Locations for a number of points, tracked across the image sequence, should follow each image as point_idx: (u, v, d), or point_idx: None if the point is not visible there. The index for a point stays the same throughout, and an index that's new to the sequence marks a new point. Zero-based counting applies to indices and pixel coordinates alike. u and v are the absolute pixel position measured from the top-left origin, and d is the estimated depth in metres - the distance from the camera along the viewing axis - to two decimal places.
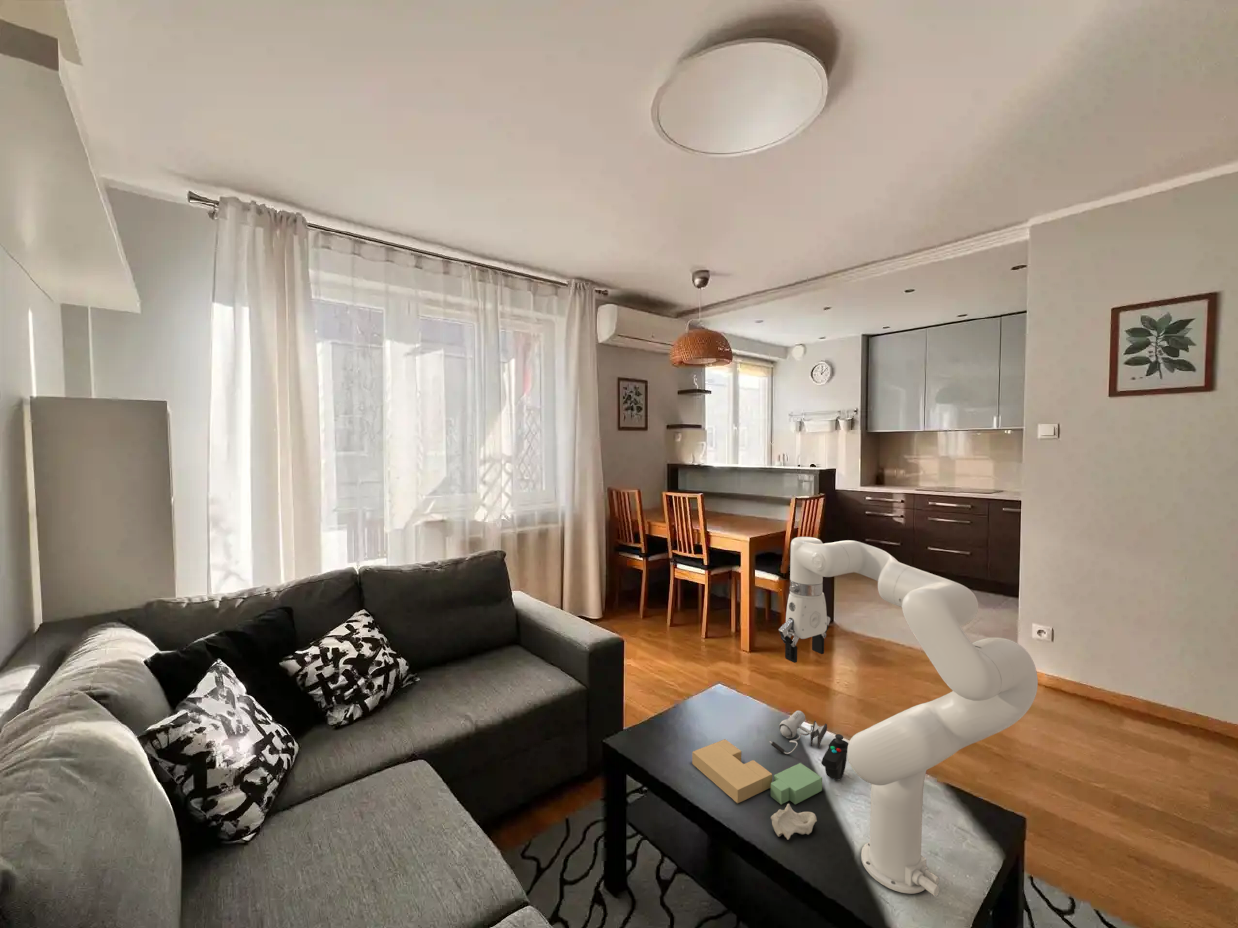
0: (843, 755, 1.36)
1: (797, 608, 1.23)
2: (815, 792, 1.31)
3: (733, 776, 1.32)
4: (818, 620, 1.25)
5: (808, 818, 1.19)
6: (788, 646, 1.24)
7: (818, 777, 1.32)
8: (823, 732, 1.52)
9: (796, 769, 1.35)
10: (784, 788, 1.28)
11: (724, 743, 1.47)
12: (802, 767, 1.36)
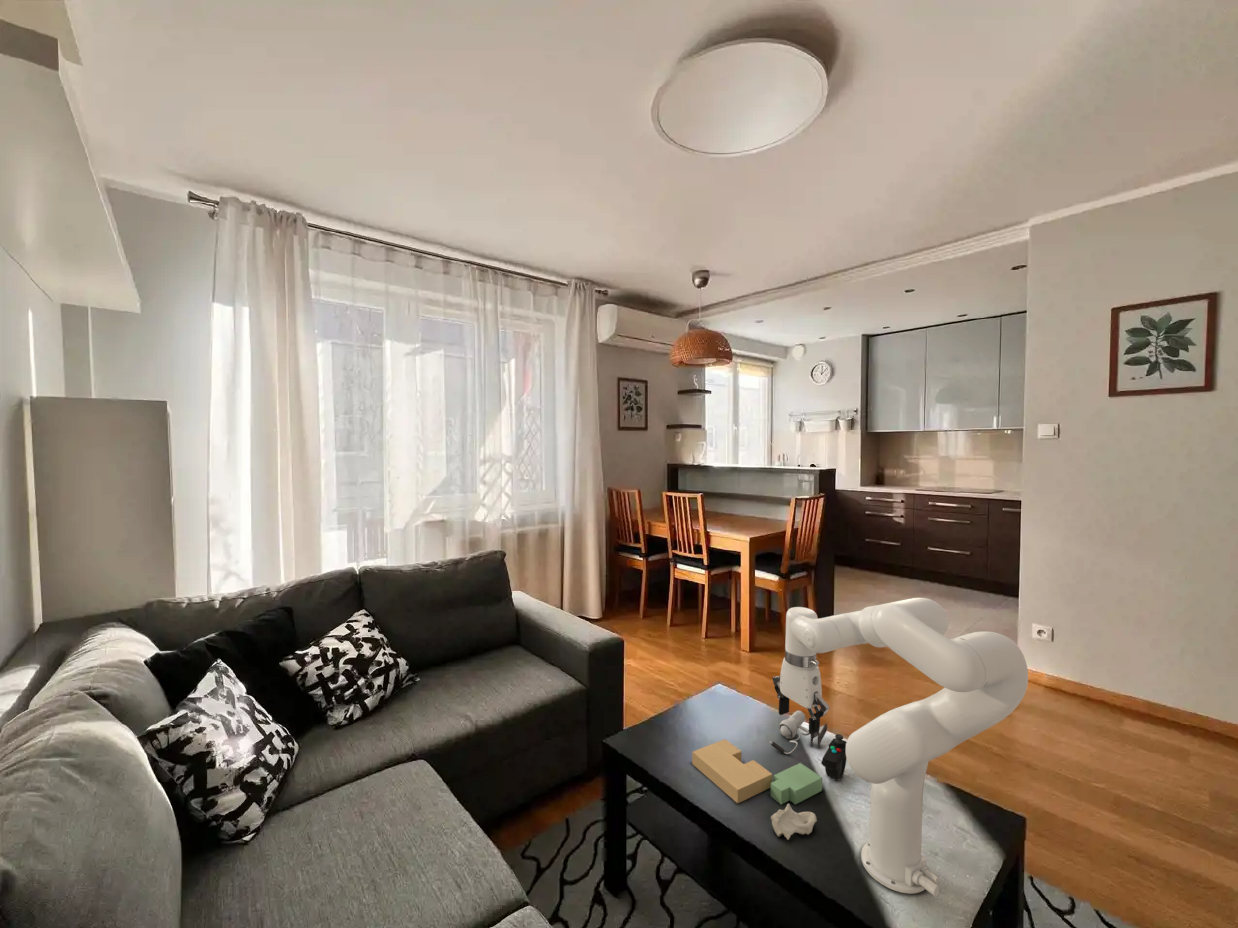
0: (843, 755, 1.36)
1: (819, 678, 1.27)
2: (815, 792, 1.31)
3: (733, 776, 1.32)
4: None
5: (808, 818, 1.19)
6: (817, 719, 1.26)
7: (818, 777, 1.32)
8: (823, 732, 1.52)
9: (796, 769, 1.35)
10: (784, 788, 1.28)
11: (724, 743, 1.47)
12: (802, 767, 1.36)
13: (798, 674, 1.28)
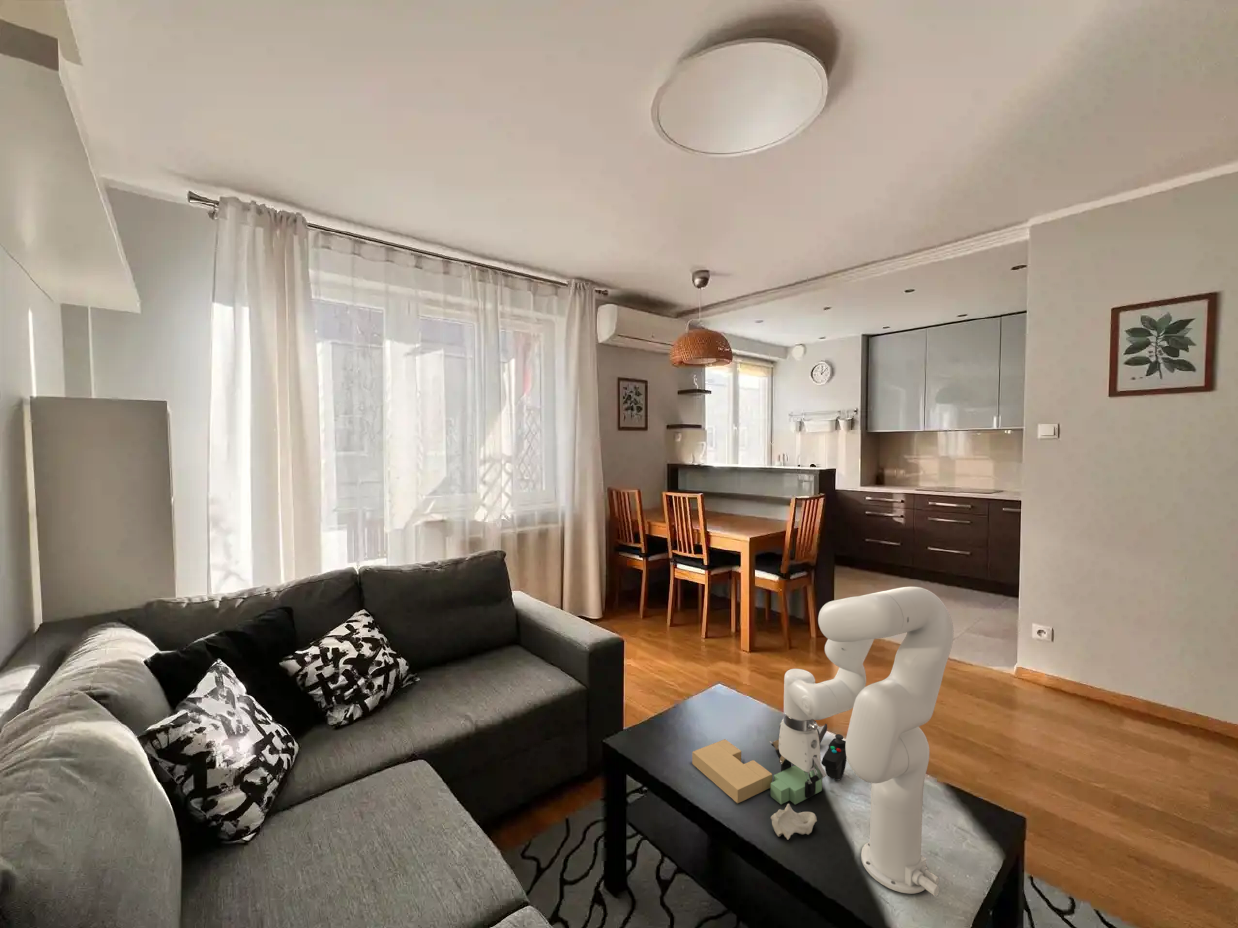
0: (843, 755, 1.36)
1: (818, 741, 1.29)
2: (815, 792, 1.31)
3: (733, 776, 1.32)
4: None
5: (808, 818, 1.19)
6: (813, 783, 1.28)
7: None
8: (823, 732, 1.52)
9: (796, 769, 1.35)
10: (784, 788, 1.28)
11: (724, 743, 1.47)
12: None
13: (796, 738, 1.29)
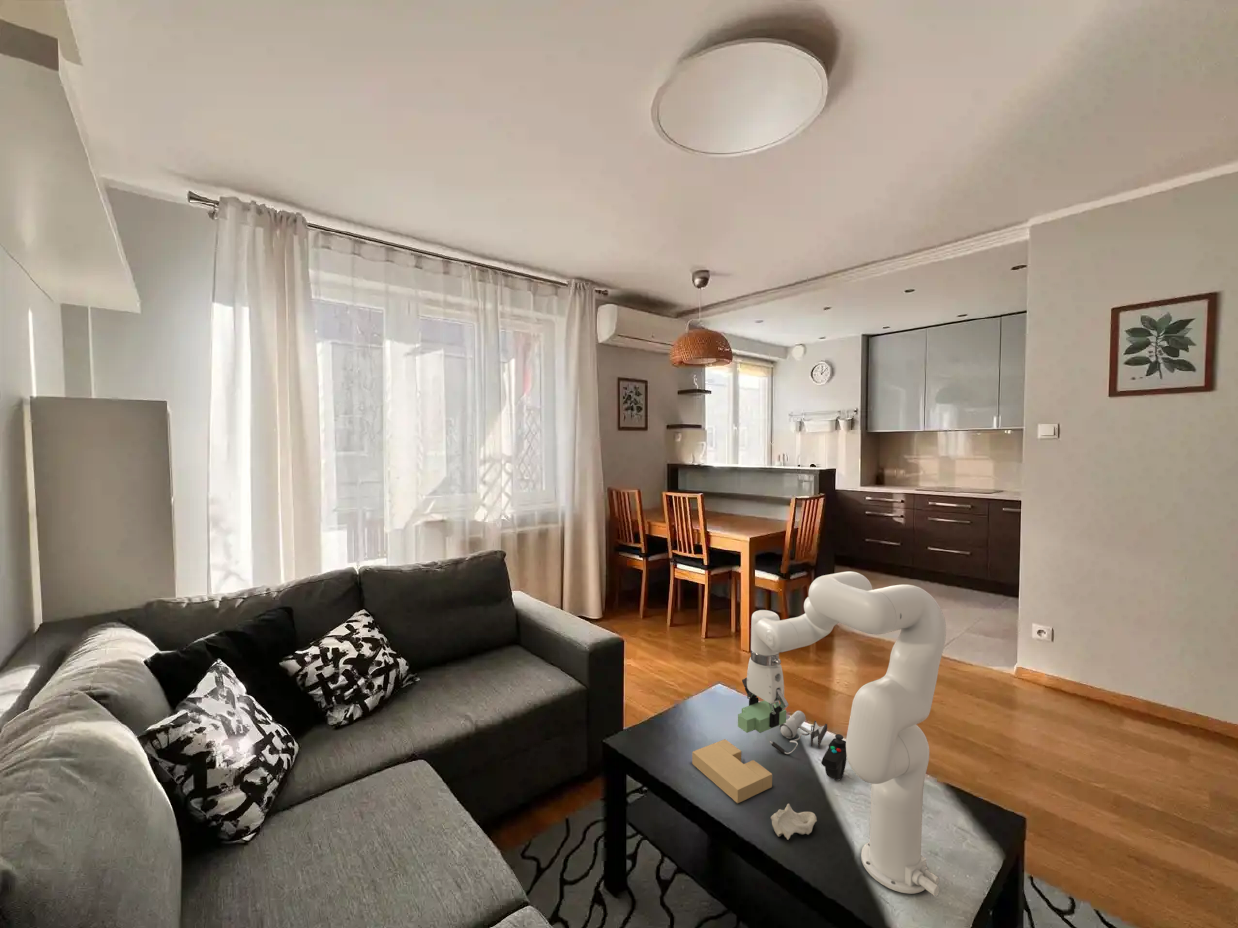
0: (843, 755, 1.36)
1: (781, 675, 1.39)
2: (779, 723, 1.41)
3: (733, 776, 1.32)
4: None
5: (808, 818, 1.19)
6: (777, 714, 1.38)
7: None
8: (823, 732, 1.52)
9: (763, 704, 1.45)
10: (750, 718, 1.38)
11: (724, 743, 1.47)
12: None
13: (762, 672, 1.39)
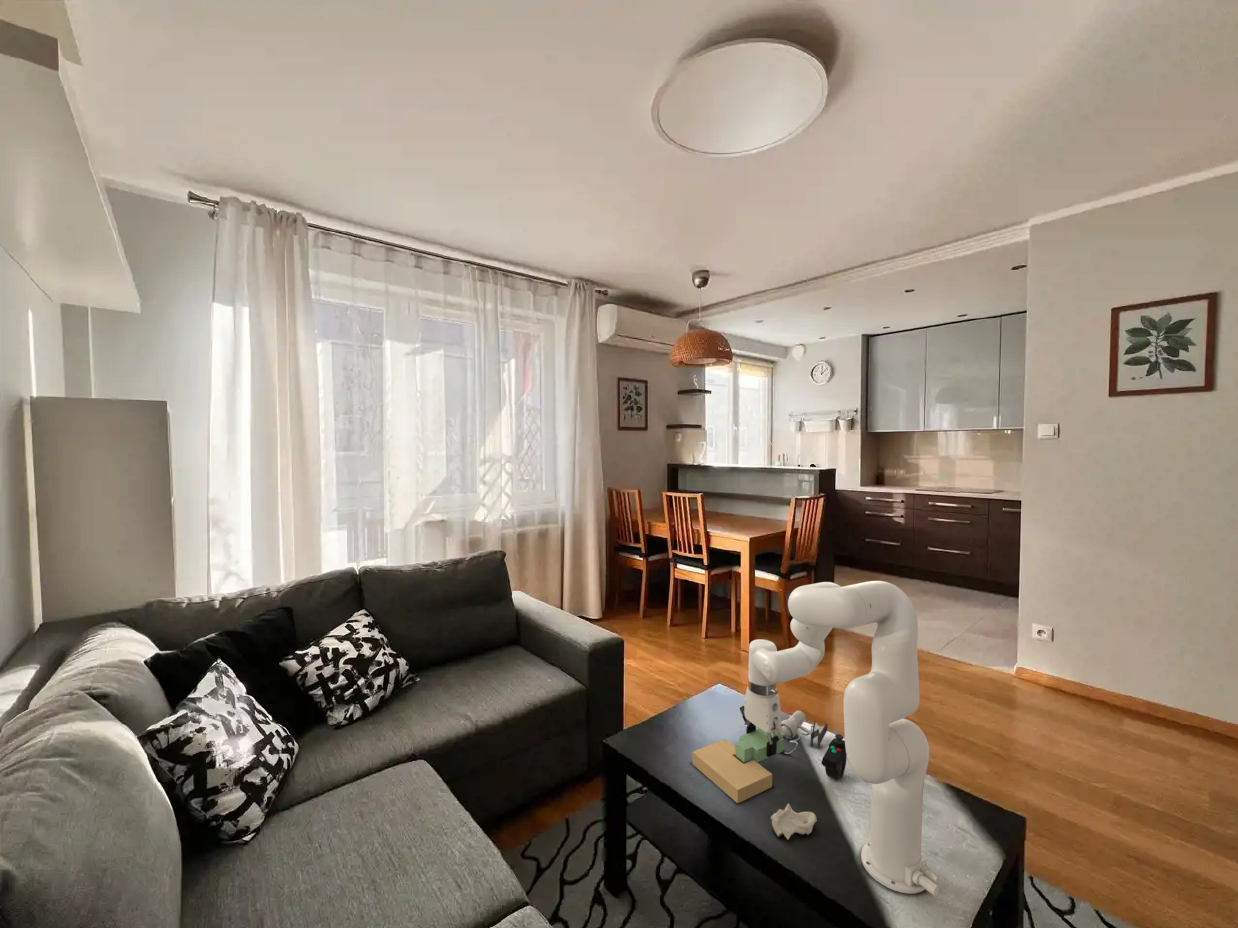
0: (843, 755, 1.36)
1: (778, 705, 1.40)
2: (776, 752, 1.42)
3: (733, 776, 1.32)
4: None
5: (808, 818, 1.19)
6: (774, 743, 1.39)
7: None
8: (823, 732, 1.52)
9: (760, 732, 1.46)
10: (747, 747, 1.39)
11: (724, 743, 1.47)
12: None
13: (759, 702, 1.40)
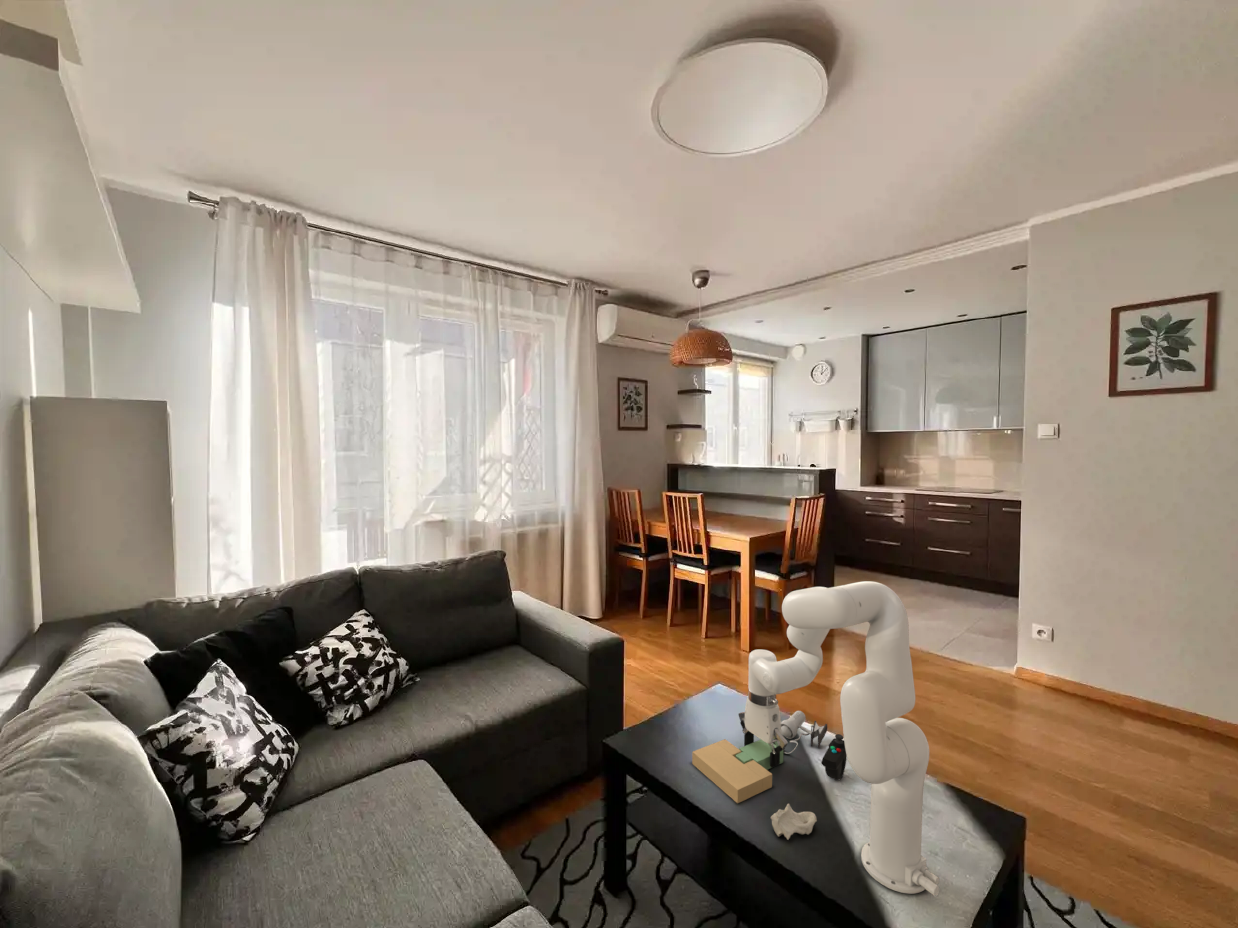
0: (843, 755, 1.36)
1: (779, 715, 1.40)
2: None
3: (733, 776, 1.32)
4: None
5: (808, 818, 1.19)
6: (777, 754, 1.39)
7: None
8: (823, 732, 1.52)
9: (760, 743, 1.47)
10: (747, 759, 1.39)
11: (724, 743, 1.47)
12: None
13: (759, 712, 1.41)
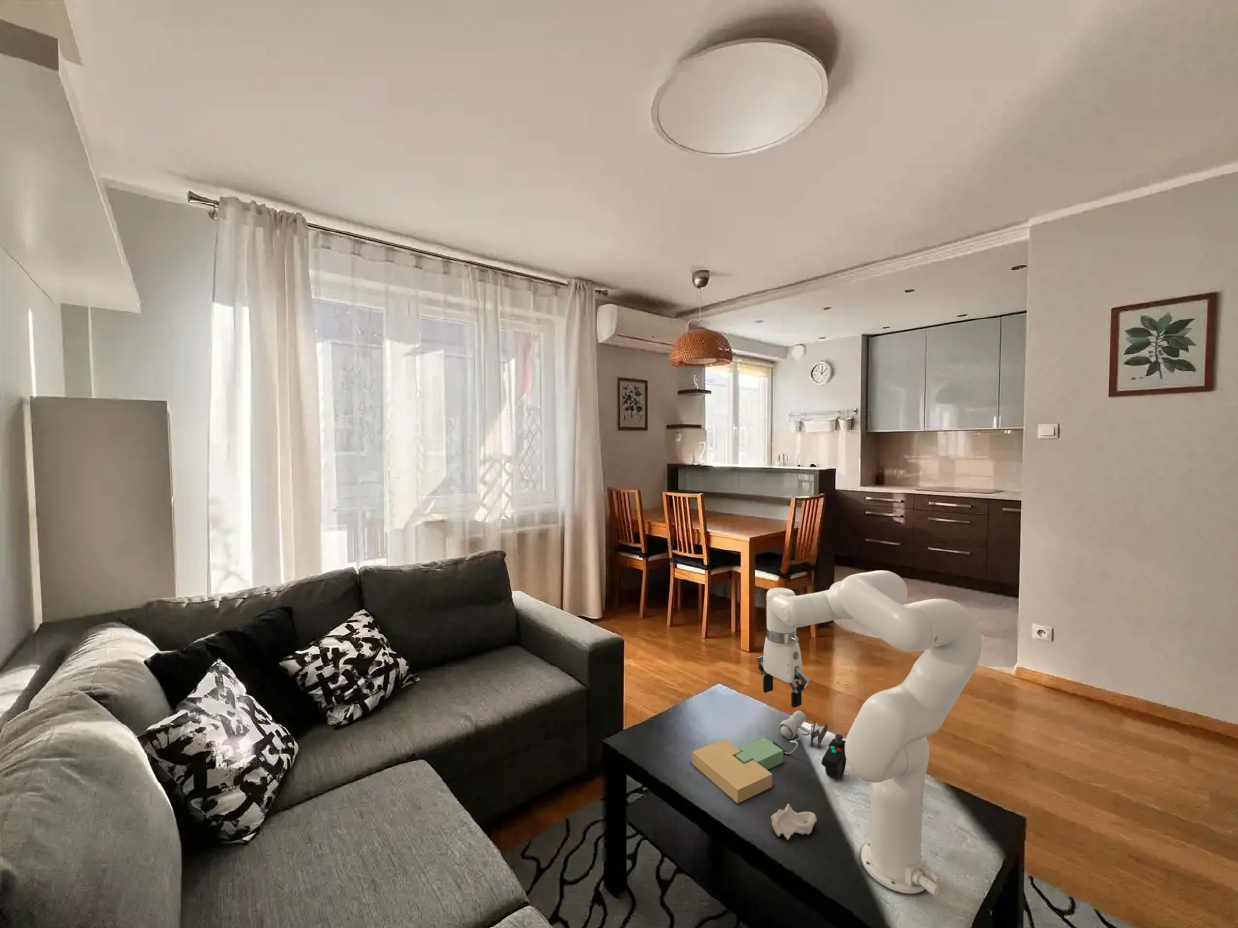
0: (843, 755, 1.36)
1: (799, 654, 1.35)
2: (776, 763, 1.42)
3: (733, 776, 1.32)
4: None
5: (808, 818, 1.19)
6: (799, 693, 1.33)
7: (779, 750, 1.43)
8: (823, 732, 1.52)
9: (760, 743, 1.47)
10: (747, 759, 1.39)
11: (724, 743, 1.47)
12: (766, 741, 1.47)
13: (779, 651, 1.35)
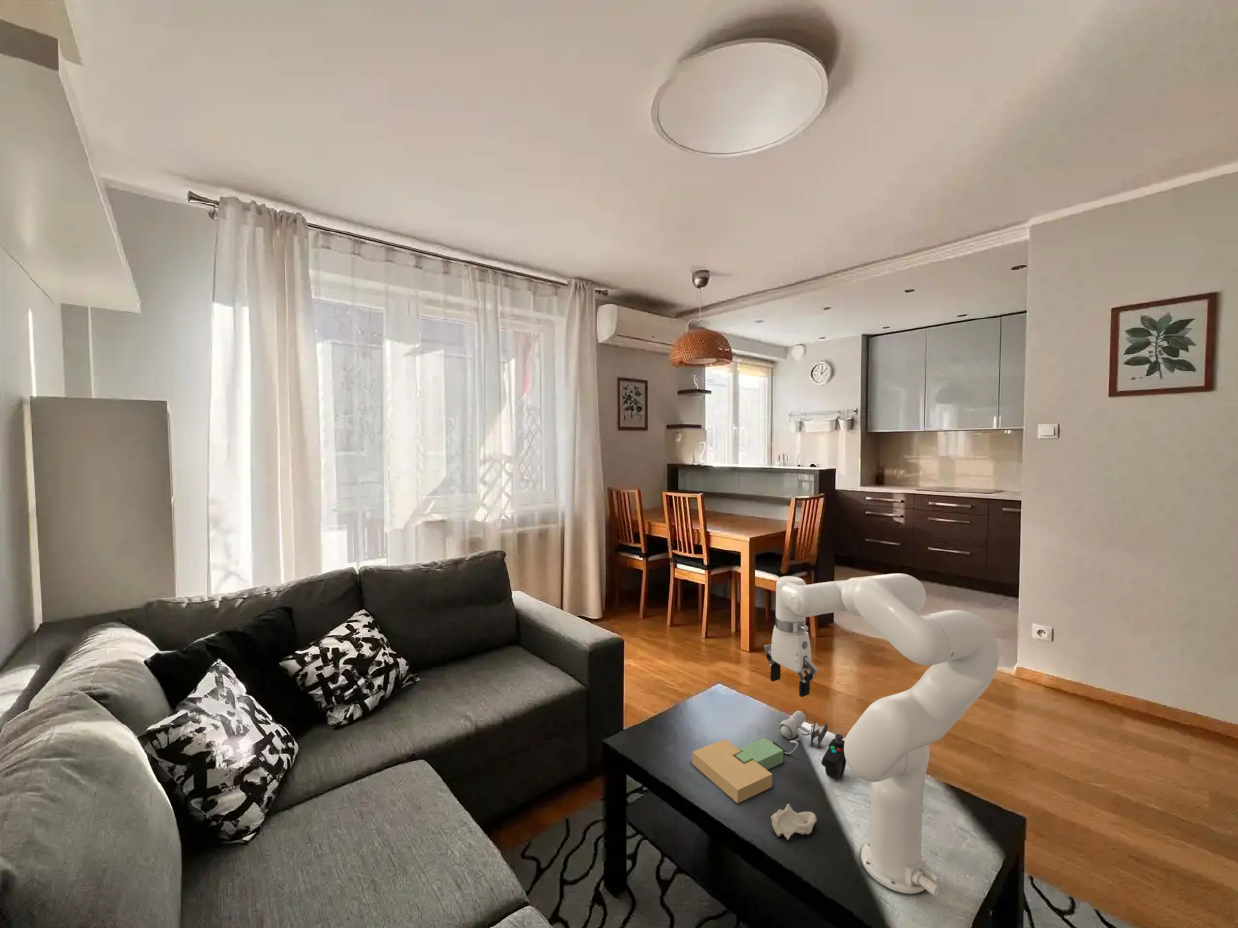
0: (843, 755, 1.36)
1: (808, 643, 1.33)
2: (776, 763, 1.42)
3: (733, 776, 1.32)
4: None
5: (808, 818, 1.19)
6: (807, 683, 1.31)
7: (779, 750, 1.43)
8: (823, 732, 1.52)
9: (760, 743, 1.47)
10: (747, 759, 1.39)
11: (724, 743, 1.47)
12: (766, 741, 1.47)
13: (788, 640, 1.33)
